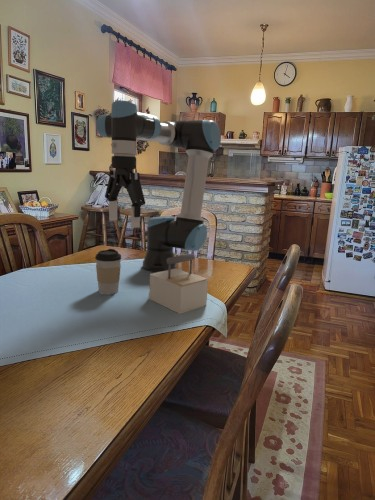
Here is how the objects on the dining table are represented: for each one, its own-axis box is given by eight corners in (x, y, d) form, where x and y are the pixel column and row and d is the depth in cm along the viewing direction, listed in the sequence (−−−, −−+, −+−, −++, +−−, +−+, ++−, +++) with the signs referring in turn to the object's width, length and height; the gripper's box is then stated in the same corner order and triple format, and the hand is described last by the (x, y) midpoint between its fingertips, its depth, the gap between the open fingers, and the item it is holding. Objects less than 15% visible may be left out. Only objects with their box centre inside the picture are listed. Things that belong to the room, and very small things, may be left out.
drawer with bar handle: (189, 273, 124) (190, 252, 122) (207, 280, 118) (208, 258, 116) (165, 279, 117) (166, 257, 115) (182, 286, 111) (183, 263, 109)
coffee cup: (115, 297, 124) (115, 255, 120) (91, 293, 125) (90, 252, 122) (124, 288, 132) (125, 249, 129) (102, 285, 134) (101, 247, 131)
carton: (174, 291, 132) (175, 267, 130) (206, 305, 121) (208, 280, 118) (148, 298, 124) (148, 273, 122) (180, 314, 112) (181, 287, 110)
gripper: (93, 154, 116) (95, 218, 121) (135, 155, 98) (135, 231, 103) (114, 155, 120) (114, 217, 126) (158, 156, 102) (156, 229, 108)
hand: (123, 224), depth 114 cm, fingers open, 13 cm apart
